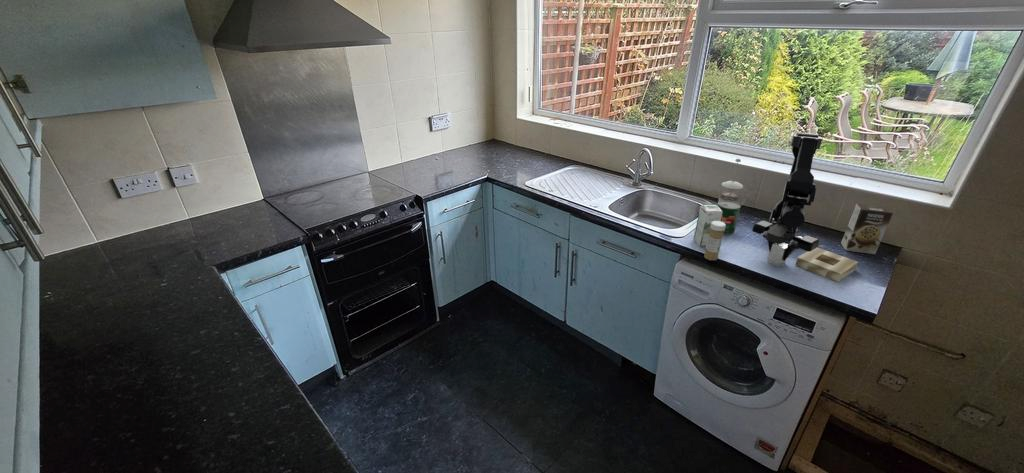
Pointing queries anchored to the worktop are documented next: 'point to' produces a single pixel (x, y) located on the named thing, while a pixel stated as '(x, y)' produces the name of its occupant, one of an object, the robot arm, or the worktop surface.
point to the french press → (731, 185)
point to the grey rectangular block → (777, 254)
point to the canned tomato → (729, 215)
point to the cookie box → (866, 228)
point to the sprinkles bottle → (714, 240)
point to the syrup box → (706, 222)
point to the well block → (826, 264)
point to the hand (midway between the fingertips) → (777, 257)
